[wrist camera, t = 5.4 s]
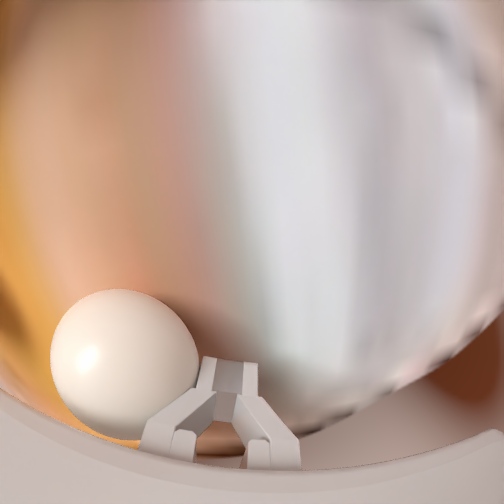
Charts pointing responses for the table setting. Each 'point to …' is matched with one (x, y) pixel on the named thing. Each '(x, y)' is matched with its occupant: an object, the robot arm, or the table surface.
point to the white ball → (121, 361)
